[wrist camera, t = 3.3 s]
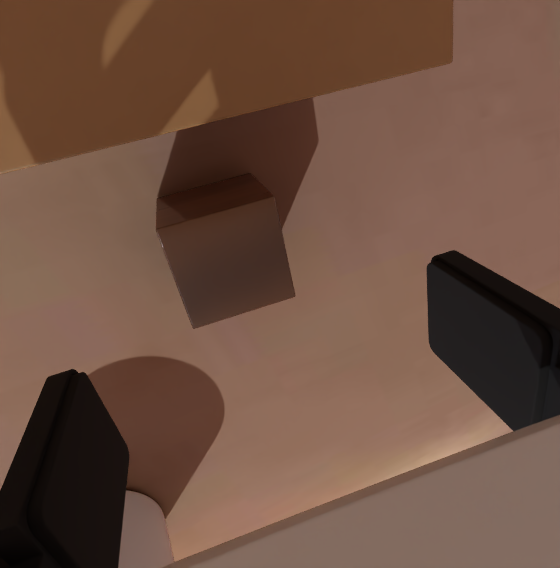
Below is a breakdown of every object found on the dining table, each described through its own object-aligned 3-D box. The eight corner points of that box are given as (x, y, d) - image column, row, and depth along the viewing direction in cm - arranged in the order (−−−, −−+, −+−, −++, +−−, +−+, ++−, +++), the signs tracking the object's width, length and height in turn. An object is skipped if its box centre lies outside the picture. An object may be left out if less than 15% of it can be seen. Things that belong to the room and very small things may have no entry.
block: (156, 198, 18) (155, 229, 14) (251, 172, 18) (274, 195, 15) (186, 282, 20) (193, 329, 16) (270, 257, 21) (295, 297, 17)
